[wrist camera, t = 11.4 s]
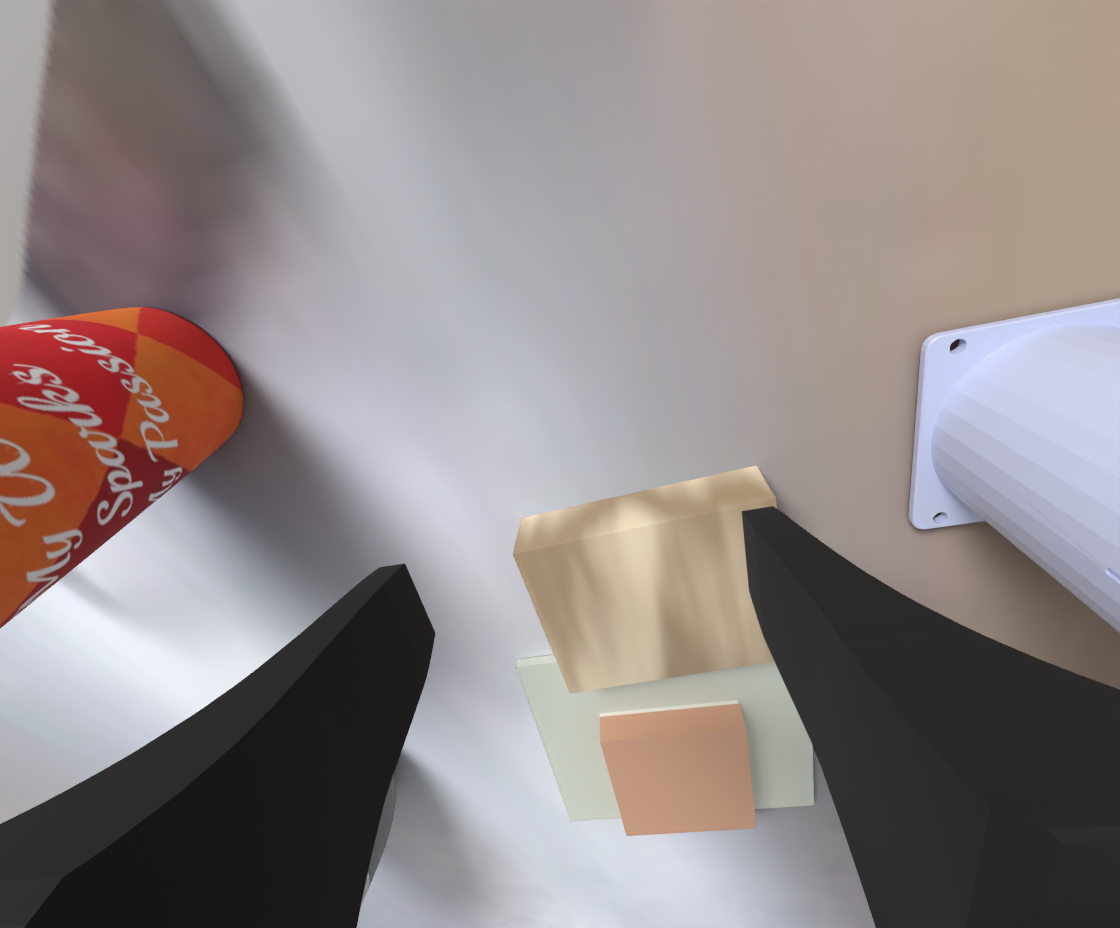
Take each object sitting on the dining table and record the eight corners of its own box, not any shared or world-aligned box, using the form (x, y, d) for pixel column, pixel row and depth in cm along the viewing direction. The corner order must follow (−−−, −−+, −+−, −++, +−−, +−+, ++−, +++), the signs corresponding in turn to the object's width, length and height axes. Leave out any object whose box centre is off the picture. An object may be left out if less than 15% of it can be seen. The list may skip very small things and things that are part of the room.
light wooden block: (522, 513, 23) (753, 461, 22) (572, 644, 27) (776, 608, 25) (513, 554, 21) (776, 498, 19) (569, 693, 24) (798, 657, 22)
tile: (746, 728, 25) (756, 828, 28) (737, 700, 26) (748, 798, 30) (599, 741, 26) (626, 835, 30) (599, 713, 28) (625, 806, 31)
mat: (806, 625, 25) (809, 633, 24) (810, 796, 30) (813, 805, 30) (517, 659, 27) (516, 667, 26) (570, 812, 32) (570, 821, 32)
